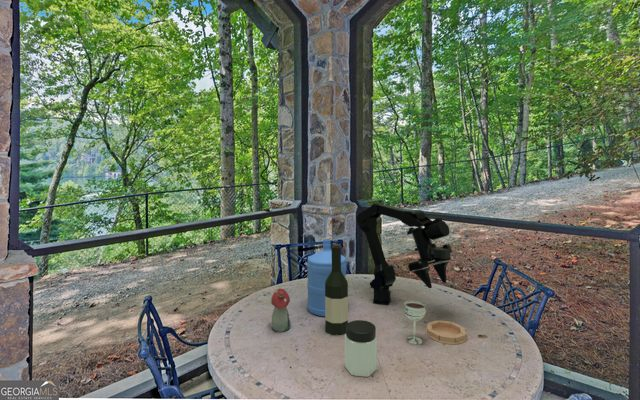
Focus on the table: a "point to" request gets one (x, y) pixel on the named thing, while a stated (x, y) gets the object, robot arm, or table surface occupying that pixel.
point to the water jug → (320, 277)
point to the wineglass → (414, 316)
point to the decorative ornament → (280, 311)
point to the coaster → (446, 332)
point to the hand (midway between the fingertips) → (437, 285)
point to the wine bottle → (336, 296)
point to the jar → (361, 348)
